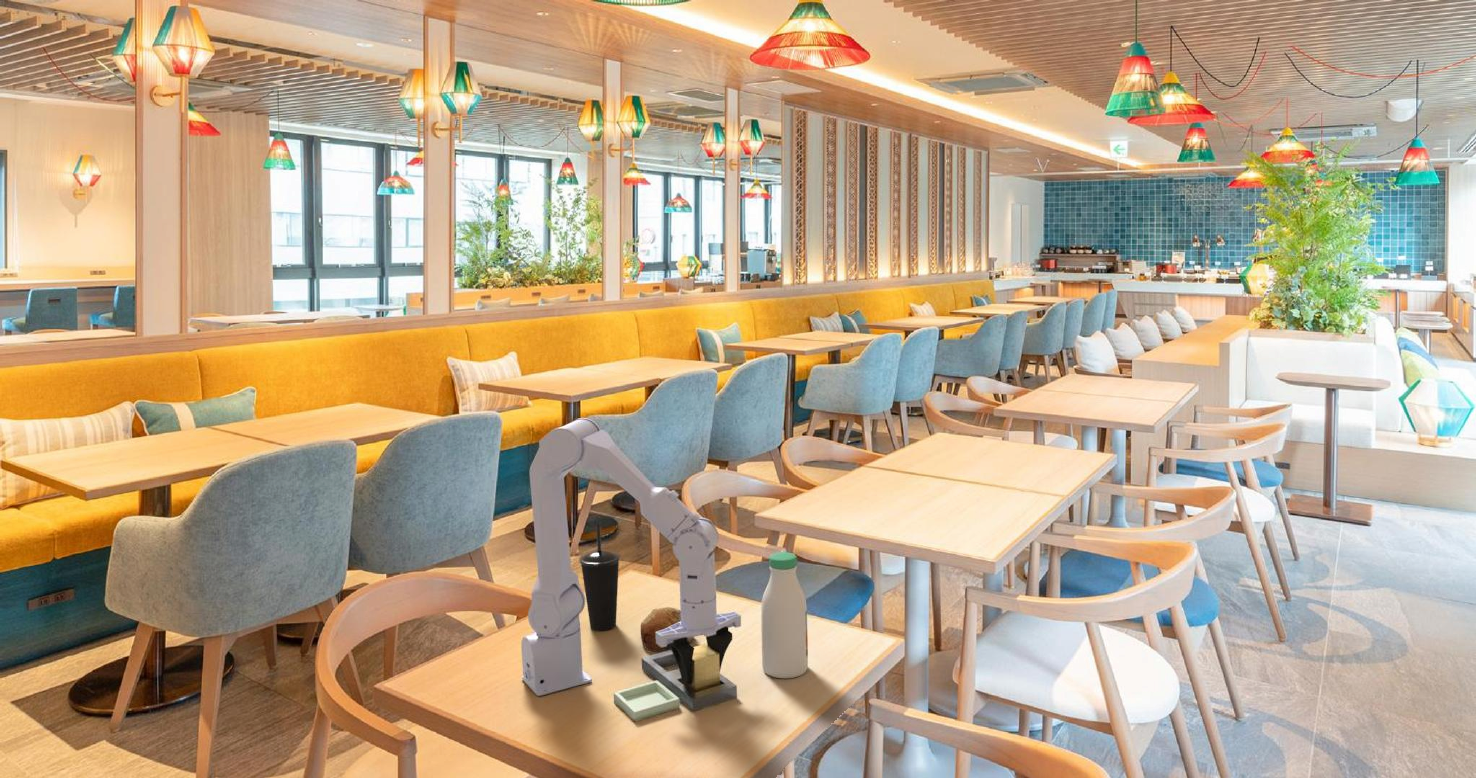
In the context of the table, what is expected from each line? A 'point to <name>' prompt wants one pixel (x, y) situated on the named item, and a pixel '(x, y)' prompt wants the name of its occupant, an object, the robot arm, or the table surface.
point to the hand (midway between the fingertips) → (700, 677)
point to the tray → (646, 700)
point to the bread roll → (658, 626)
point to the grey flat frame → (686, 696)
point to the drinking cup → (601, 585)
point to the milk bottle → (784, 620)
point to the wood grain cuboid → (704, 669)
